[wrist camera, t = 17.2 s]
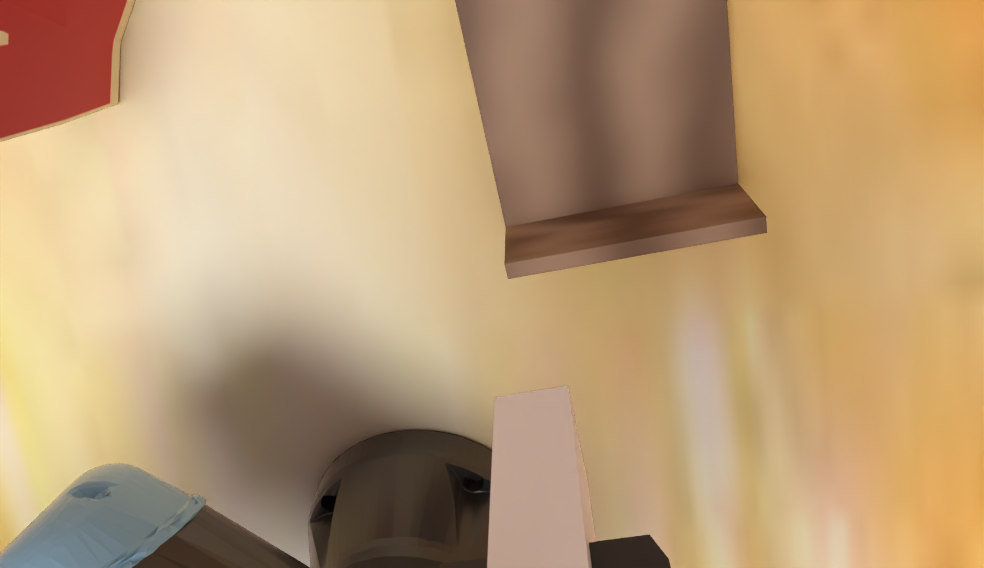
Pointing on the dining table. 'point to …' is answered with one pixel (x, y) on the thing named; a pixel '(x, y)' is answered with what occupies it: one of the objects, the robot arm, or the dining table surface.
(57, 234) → the dining table surface
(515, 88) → the rack
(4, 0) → the milk carton
